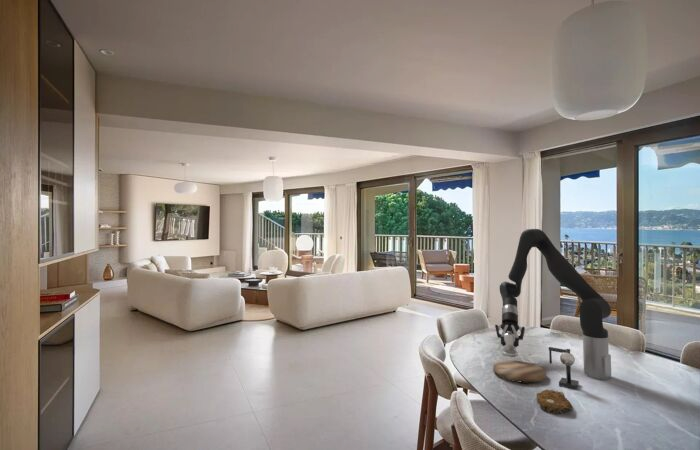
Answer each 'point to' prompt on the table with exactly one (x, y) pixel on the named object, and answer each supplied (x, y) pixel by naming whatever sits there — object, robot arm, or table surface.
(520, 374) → the disc
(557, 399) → the decorative rock
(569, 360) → the stand
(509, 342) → the cover
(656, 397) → the table surface
